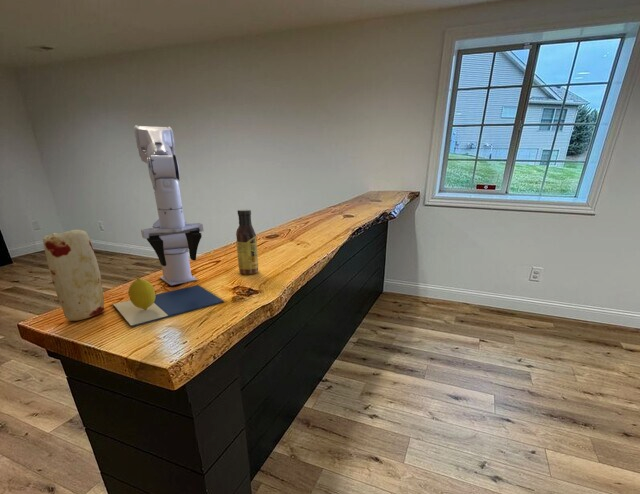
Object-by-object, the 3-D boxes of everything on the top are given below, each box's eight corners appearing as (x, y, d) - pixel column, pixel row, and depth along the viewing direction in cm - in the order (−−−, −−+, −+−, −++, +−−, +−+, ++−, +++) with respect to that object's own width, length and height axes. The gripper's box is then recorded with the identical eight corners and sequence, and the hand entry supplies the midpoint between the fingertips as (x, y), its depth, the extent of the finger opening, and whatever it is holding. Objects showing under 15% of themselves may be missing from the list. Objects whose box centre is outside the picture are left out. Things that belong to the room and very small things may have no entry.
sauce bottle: (256, 275, 110) (252, 211, 102) (237, 275, 110) (230, 211, 102) (260, 269, 116) (256, 208, 108) (241, 269, 116) (236, 208, 108)
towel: (113, 305, 87) (112, 303, 87) (198, 286, 101) (198, 284, 101) (131, 327, 76) (130, 325, 76) (223, 302, 90) (223, 300, 90)
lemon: (148, 315, 81) (141, 283, 78) (127, 313, 82) (119, 281, 79) (162, 306, 86) (157, 275, 83) (143, 304, 87) (136, 273, 84)
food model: (77, 327, 76) (49, 236, 68) (57, 321, 78) (28, 233, 71) (116, 310, 85) (96, 227, 77) (97, 306, 87) (75, 225, 79)
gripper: (143, 213, 77) (154, 271, 83) (205, 207, 86) (212, 260, 92) (134, 209, 82) (145, 264, 88) (194, 204, 91) (200, 255, 96)
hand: (178, 262), depth 90 cm, fingers open, 7 cm apart
